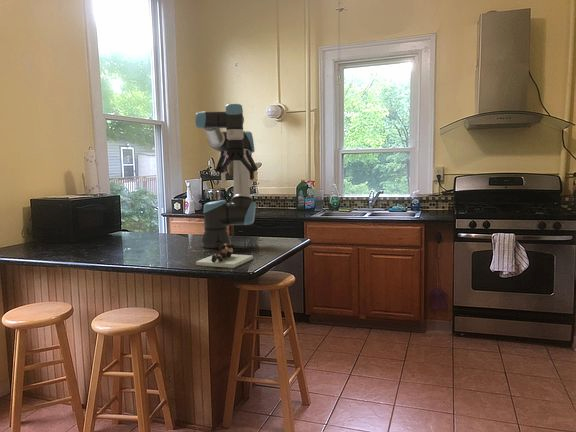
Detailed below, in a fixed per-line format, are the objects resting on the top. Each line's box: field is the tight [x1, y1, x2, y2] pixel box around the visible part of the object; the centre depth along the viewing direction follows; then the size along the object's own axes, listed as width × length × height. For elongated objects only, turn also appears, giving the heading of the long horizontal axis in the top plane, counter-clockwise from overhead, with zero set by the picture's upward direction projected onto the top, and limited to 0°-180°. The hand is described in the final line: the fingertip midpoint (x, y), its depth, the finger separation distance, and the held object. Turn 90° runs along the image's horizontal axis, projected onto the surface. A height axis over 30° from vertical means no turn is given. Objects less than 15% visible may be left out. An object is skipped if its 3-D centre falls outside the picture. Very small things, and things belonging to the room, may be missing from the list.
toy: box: [211, 244, 234, 263], centre depth 195 cm, size 6×6×15 cm
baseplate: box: [195, 253, 254, 269], centre depth 197 cm, size 18×18×2 cm
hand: (236, 187), depth 206 cm, fingers open, 13 cm apart
